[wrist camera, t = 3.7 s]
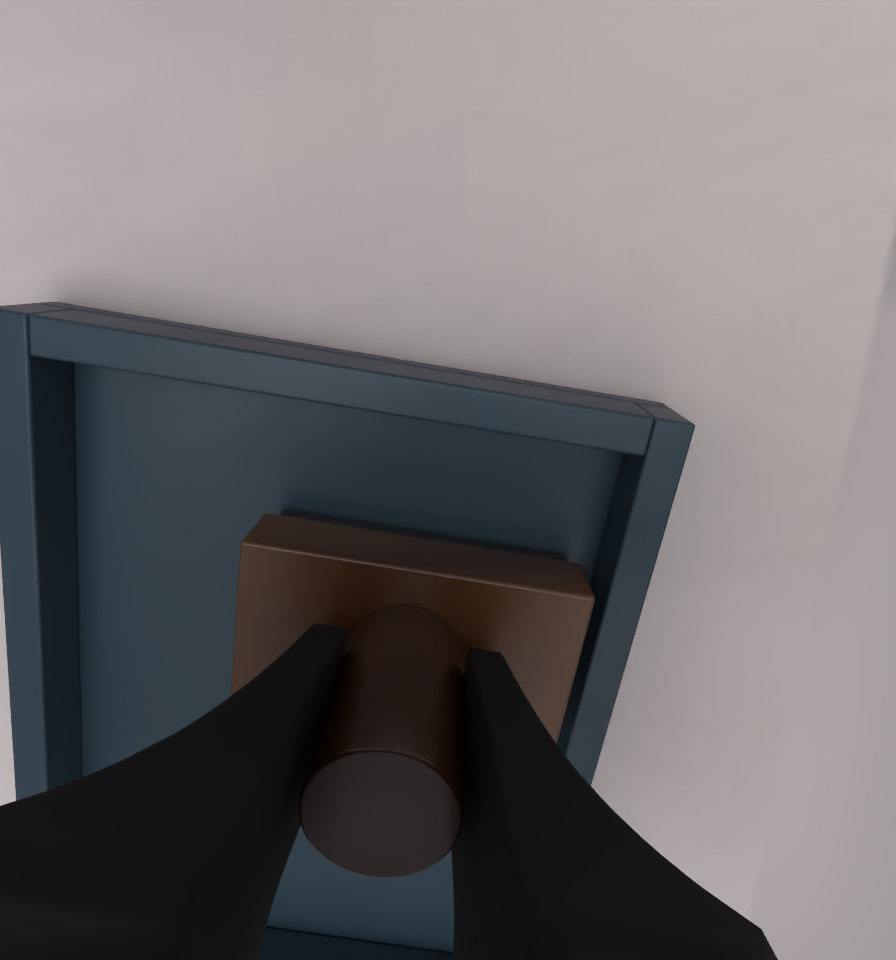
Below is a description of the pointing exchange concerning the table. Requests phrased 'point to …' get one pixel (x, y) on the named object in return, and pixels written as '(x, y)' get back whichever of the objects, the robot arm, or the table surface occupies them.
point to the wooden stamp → (402, 667)
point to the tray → (271, 489)
